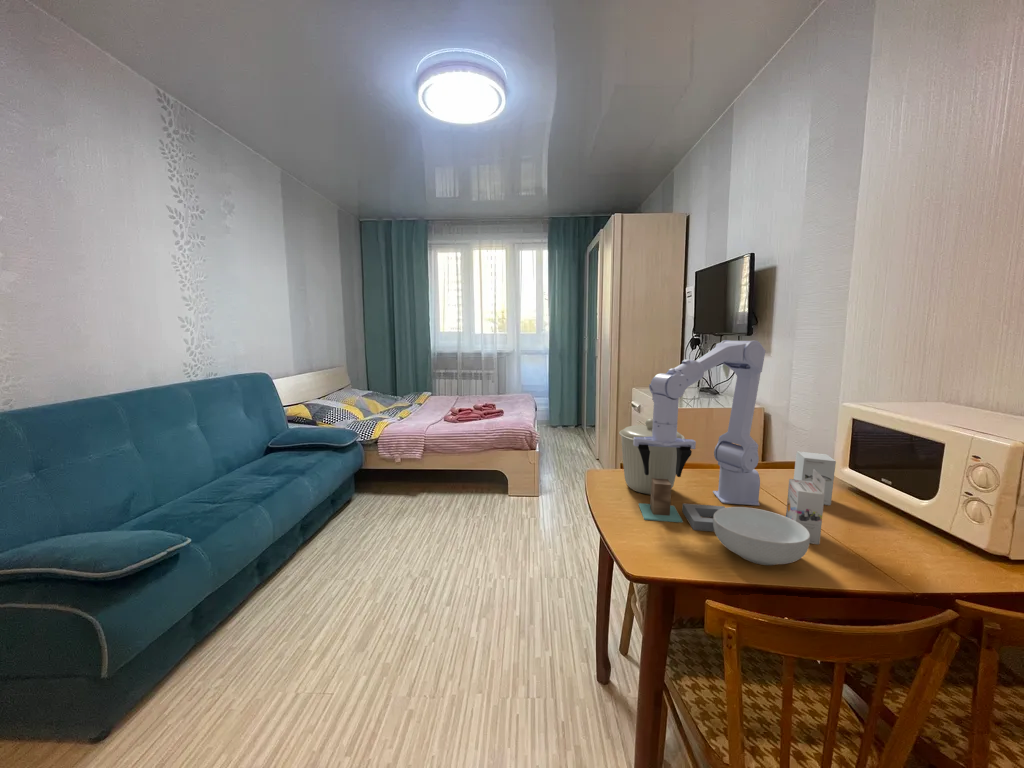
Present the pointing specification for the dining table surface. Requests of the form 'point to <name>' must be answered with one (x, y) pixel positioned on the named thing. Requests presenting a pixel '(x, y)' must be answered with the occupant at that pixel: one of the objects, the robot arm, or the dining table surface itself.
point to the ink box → (807, 504)
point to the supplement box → (821, 465)
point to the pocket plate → (700, 516)
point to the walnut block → (660, 496)
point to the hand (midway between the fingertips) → (662, 474)
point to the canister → (659, 459)
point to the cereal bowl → (761, 535)
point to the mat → (650, 516)
